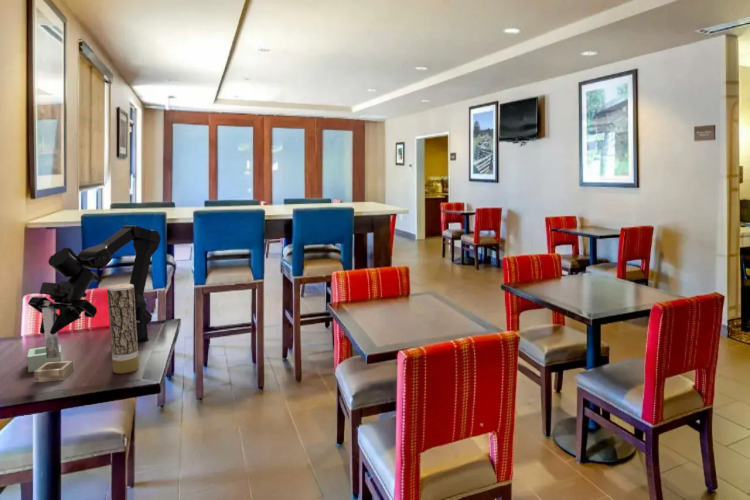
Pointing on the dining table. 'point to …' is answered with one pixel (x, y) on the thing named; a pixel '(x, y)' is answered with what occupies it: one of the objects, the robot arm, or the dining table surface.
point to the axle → (50, 339)
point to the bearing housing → (53, 371)
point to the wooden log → (123, 328)
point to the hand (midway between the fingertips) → (46, 333)
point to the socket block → (40, 358)
